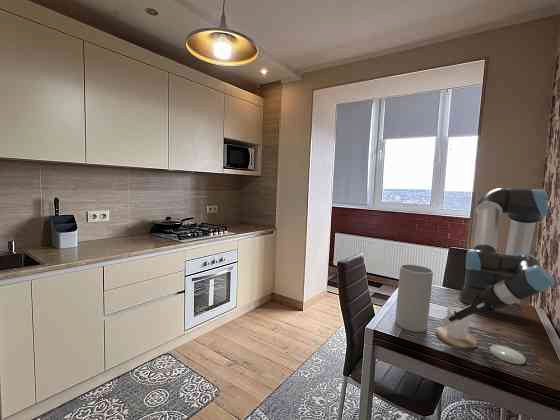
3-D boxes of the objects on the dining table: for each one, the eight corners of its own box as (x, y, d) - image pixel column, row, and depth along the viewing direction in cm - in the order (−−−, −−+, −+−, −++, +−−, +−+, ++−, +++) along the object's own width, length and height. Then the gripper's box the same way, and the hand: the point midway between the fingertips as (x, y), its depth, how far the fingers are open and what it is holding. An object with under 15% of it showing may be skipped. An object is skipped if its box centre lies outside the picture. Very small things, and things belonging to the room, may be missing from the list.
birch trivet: (452, 327, 122) (452, 324, 122) (485, 345, 109) (485, 342, 109) (427, 331, 117) (427, 328, 117) (458, 350, 104) (459, 347, 104)
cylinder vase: (411, 317, 130) (416, 263, 127) (434, 331, 118) (440, 272, 116) (388, 320, 126) (393, 264, 123) (409, 334, 114) (415, 274, 112)
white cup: (440, 330, 117) (442, 306, 116) (458, 330, 117) (461, 306, 116) (453, 340, 109) (456, 315, 108) (472, 340, 109) (475, 315, 109)
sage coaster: (501, 346, 109) (501, 343, 109) (531, 361, 100) (532, 359, 100) (483, 349, 106) (483, 347, 106) (513, 366, 96) (513, 363, 96)
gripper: (497, 313, 91) (443, 336, 105) (520, 298, 106) (470, 320, 120) (480, 291, 95) (430, 316, 109) (504, 280, 110) (458, 303, 123)
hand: (451, 318), depth 114 cm, fingers open, 13 cm apart
